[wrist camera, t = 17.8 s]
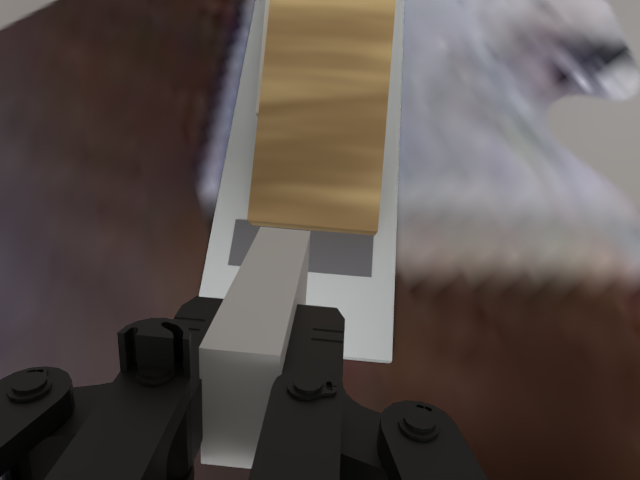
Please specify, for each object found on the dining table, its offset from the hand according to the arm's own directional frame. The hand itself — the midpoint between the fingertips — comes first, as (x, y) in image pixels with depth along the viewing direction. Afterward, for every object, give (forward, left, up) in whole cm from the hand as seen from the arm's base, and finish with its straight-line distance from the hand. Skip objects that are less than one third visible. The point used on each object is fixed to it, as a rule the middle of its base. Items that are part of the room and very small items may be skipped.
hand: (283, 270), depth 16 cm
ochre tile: (+2, +4, -7) cm, 9 cm away
